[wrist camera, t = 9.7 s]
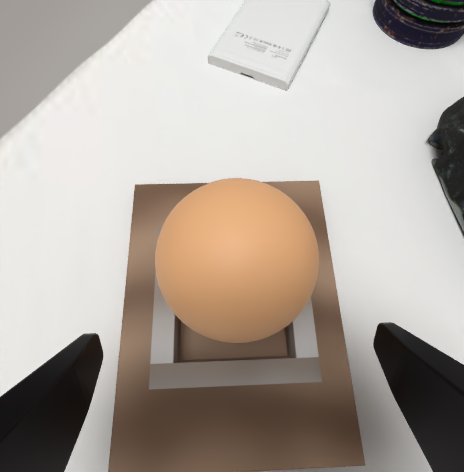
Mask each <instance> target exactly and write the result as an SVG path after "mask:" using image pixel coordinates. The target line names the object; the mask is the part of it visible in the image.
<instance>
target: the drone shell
mask: <svg viewBox="0 0 464 472" xmlns="http://www.w3.org/2000/svg"><path fill="white" fill-rule="evenodd" d="M428 140H429V141H430V145H431V146H433V147H435V148H438V149H441V150H442V151H443V154H442V155H441V156H440V158H438V159H432V165H433V167H434V169H435V171H436V173H437V175H438V177H439V179H440V181H441V184H442V186H443V189H444V192H445V194H446V197H447V199H448V201H449V203H450V205H451V207H452V209H453V211H454V213H455V215H456V217H457V219H458V221H459V223H460V225H461V227H462V229H463V231H464V97H463V98H461V99H460V100H458V101H457V102H455V103H454V104H453V105H451V106H450V107H448V108H447V109H446V110H445V111H444V112H443V114H442V116H441V118H440V120H439V123H438V126H437V129H436V130H435V131H434V132H433V134H432V135H431V136H430V137H429V139H428Z"/></svg>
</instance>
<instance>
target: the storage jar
mask: <svg viewBox="0 0 464 472" xmlns="http://www.w3.org/2000/svg"><path fill="white" fill-rule="evenodd" d="M373 16H374V19H375V21H376V23H377V25H378V26H379V27H380V29H381V30H382V31H383V32H384V33H386V34H387V35H388V36H390V37H391V38H393V39H394V40H396V41H398V42H400V43H403V44H405V45H408V46H411V47H416V48H421V49H438V48H444V47H447V46H450V45H452V44H454V43H455V42H457V41H458V40H459V39H460V38H461V36H462V35H463V34H464V0H376V1H375V4H374V6H373Z"/></svg>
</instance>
